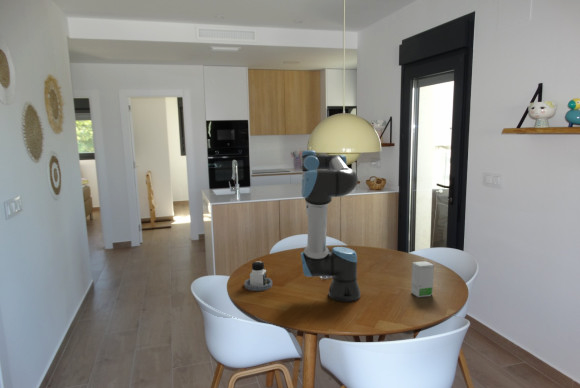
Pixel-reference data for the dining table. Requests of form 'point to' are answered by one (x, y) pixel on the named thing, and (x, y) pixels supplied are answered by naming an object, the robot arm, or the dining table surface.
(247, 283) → the dish
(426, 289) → the skincare box
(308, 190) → the robot arm
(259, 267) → the medicine bottle
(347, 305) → the dining table surface
